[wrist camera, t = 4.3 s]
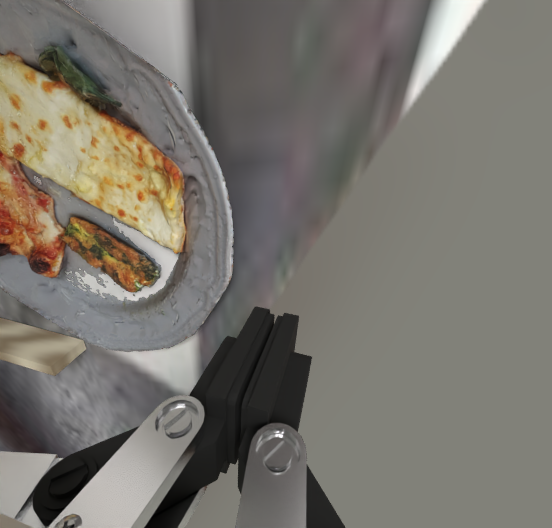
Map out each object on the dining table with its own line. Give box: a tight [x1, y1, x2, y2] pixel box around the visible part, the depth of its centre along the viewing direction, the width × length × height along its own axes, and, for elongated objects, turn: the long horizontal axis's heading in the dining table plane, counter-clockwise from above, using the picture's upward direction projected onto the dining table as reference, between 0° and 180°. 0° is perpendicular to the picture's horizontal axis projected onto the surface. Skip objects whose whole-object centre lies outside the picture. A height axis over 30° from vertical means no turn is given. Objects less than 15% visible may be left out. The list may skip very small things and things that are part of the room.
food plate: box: [0, 0, 234, 352], centre depth 19 cm, size 25×23×4 cm
